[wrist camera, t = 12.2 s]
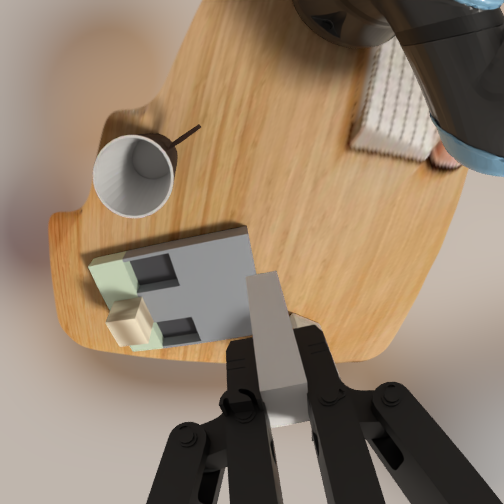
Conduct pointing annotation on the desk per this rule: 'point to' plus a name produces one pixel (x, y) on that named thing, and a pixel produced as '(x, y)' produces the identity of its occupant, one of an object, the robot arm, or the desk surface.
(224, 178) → the desk surface
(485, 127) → the robot arm
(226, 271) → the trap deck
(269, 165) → the desk surface
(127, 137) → the coffee mug
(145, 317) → the maple block
